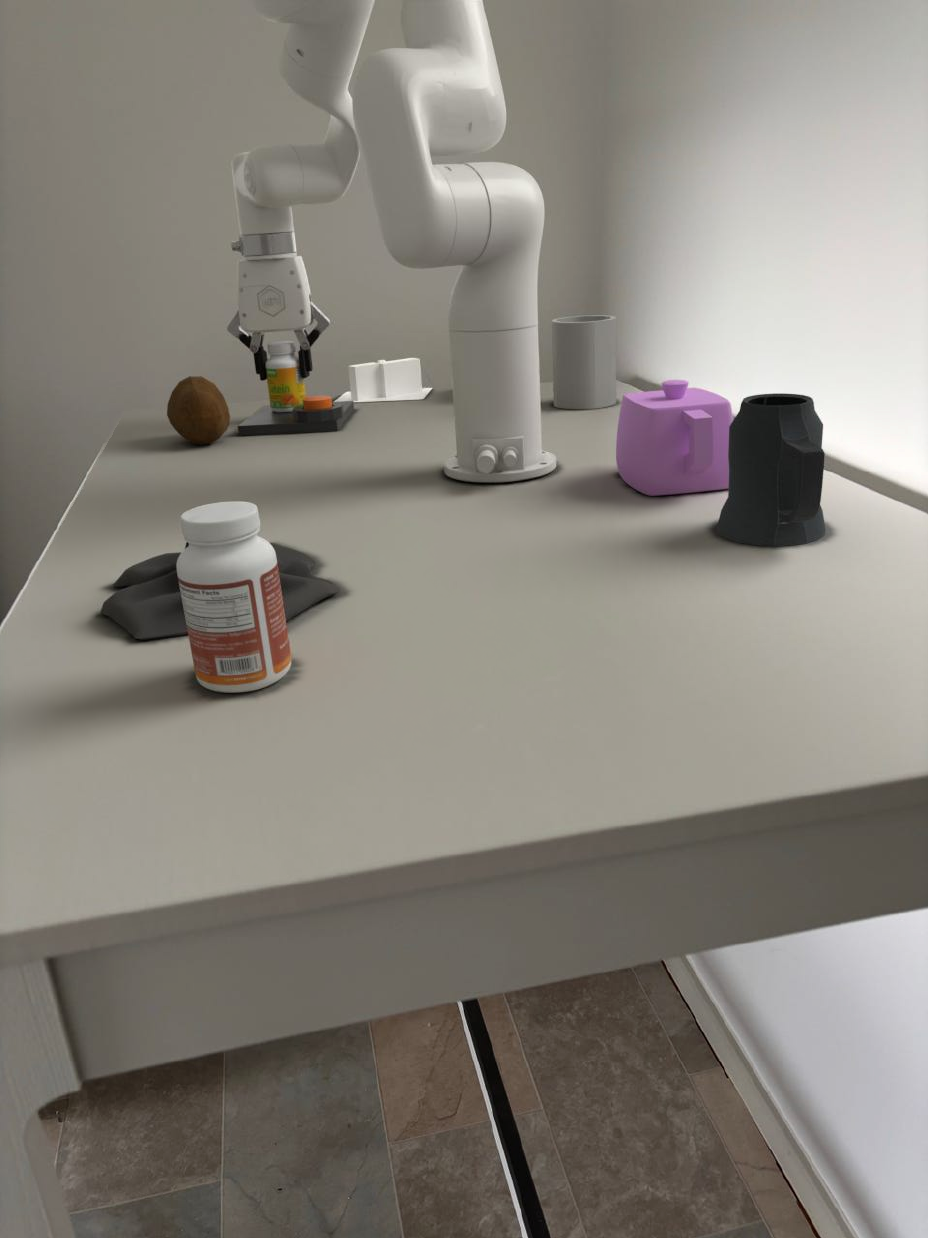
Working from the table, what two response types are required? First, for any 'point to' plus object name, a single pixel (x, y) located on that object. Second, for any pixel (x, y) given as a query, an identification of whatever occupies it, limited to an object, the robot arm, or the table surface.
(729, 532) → the mug
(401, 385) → the napkin holder
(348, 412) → the dark grey button base
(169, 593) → the cloth
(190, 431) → the potato
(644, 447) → the teapot
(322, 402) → the button
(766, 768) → the table surface
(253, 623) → the pill bottle
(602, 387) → the cup
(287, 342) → the supplement bottle
